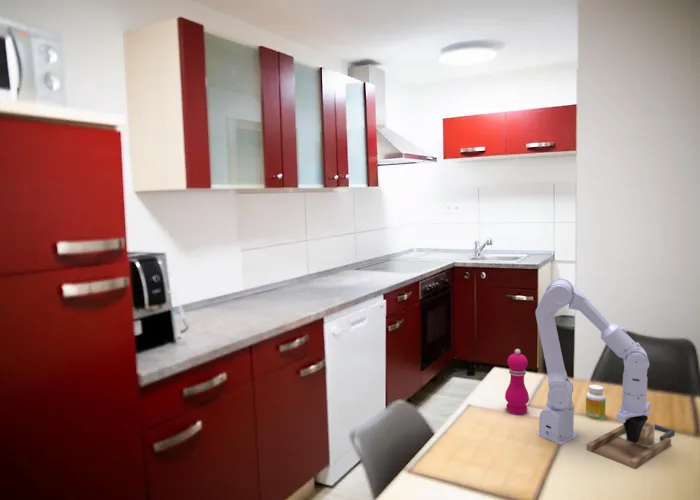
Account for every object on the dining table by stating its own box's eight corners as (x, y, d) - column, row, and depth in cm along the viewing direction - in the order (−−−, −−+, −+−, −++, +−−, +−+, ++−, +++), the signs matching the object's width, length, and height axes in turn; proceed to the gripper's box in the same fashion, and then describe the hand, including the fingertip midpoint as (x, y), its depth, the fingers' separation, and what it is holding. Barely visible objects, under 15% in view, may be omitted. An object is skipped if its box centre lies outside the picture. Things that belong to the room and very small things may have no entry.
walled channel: (634, 470, 131) (634, 462, 131) (586, 451, 141) (586, 444, 141) (670, 446, 143) (671, 439, 142) (624, 430, 152) (624, 423, 152)
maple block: (645, 447, 142) (645, 429, 141) (626, 440, 146) (626, 422, 145) (654, 441, 144) (654, 424, 144) (635, 435, 149) (636, 418, 148)
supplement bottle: (602, 423, 158) (603, 391, 157) (583, 418, 161) (584, 387, 160) (606, 416, 162) (607, 386, 161) (587, 412, 165) (588, 382, 164)
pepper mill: (531, 415, 164) (533, 352, 162) (508, 415, 164) (509, 352, 162) (524, 406, 171) (525, 345, 169) (502, 406, 171) (502, 345, 169)
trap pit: (662, 442, 145) (663, 437, 144) (633, 432, 151) (633, 427, 151) (674, 435, 149) (674, 430, 149) (644, 426, 155) (644, 421, 155)
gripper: (636, 403, 134) (634, 454, 135) (663, 390, 142) (661, 438, 144) (609, 395, 139) (607, 444, 141) (636, 382, 148) (634, 429, 149)
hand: (632, 441), depth 143 cm, fingers closed
